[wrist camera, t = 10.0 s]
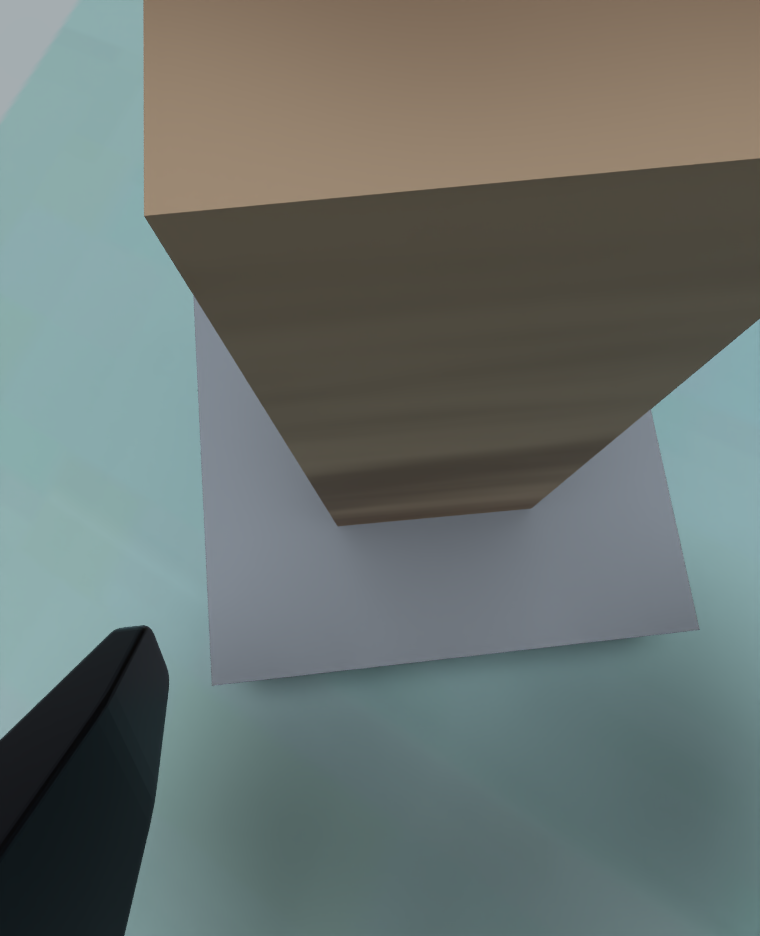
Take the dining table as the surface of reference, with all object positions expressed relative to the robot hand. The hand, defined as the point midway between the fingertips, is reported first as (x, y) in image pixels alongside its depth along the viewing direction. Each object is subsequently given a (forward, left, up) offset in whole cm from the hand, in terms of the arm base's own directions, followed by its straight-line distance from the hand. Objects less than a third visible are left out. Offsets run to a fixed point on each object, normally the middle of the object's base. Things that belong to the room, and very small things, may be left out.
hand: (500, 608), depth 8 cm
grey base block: (+5, -1, -12) cm, 13 cm away
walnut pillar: (+5, -1, -8) cm, 9 cm away
